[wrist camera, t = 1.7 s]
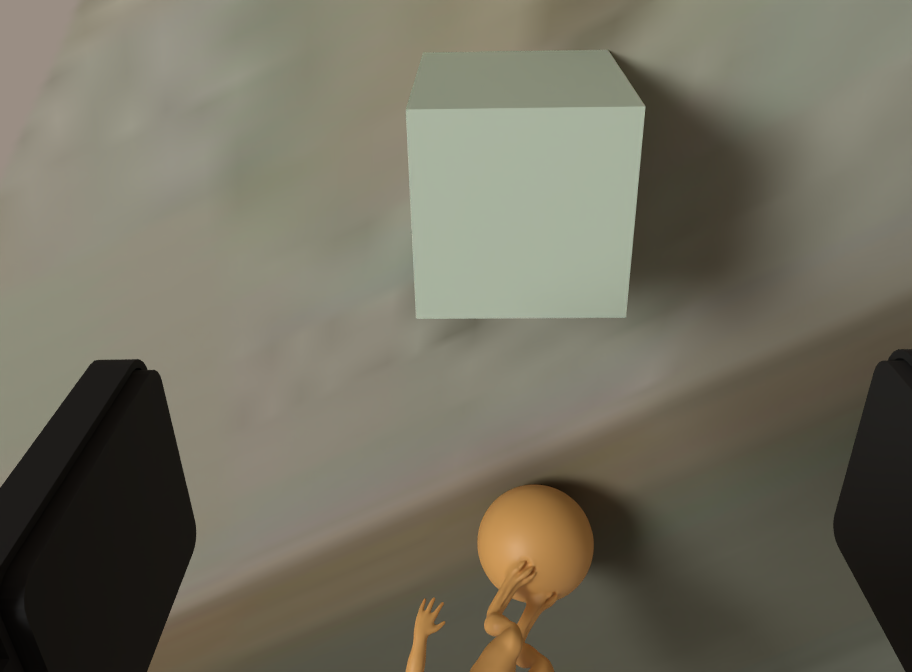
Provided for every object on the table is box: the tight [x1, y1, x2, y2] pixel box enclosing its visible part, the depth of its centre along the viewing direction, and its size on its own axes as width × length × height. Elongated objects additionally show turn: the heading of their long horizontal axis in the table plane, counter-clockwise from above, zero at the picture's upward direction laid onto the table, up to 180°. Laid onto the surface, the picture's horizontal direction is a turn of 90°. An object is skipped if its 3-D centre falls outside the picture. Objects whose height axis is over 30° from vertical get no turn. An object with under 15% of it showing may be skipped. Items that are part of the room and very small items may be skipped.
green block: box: [406, 50, 645, 319], centre depth 21 cm, size 5×5×6 cm
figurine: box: [406, 485, 594, 672], centre depth 25 cm, size 8×6×12 cm
